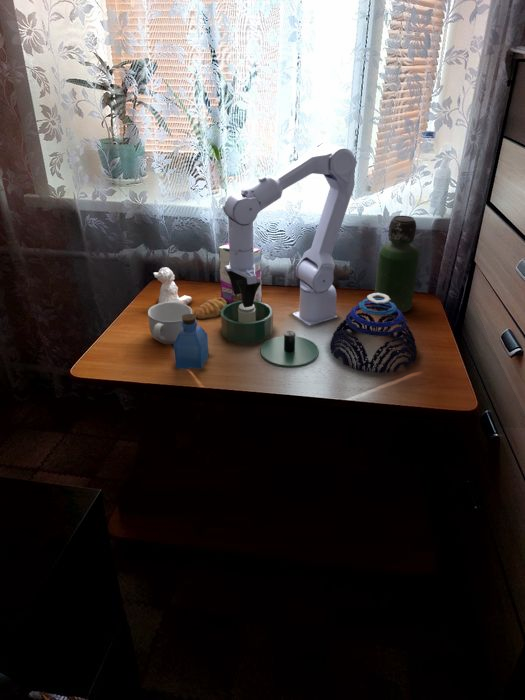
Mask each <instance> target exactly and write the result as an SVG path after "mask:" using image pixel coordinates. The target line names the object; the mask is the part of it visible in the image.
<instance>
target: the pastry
mask: <svg viewBox="0 0 525 700" xmlns="http://www.w3.org/2000/svg"><path fill="white" fill-rule="evenodd" d="M226 305H228V302H226V301H225V300H224V299H223V298H221V297H219V296H217V297H216V298H213V299H207V300H205V301H204V302H203V303H202V304H200V305H199V306H198V307H197V308H195V309H194V311H193V312H194V313H193V314H194V315H195V316H196V319H200V320H203V319H210V318H212V319H213V318H217V317H219V316H220V317H221V310H222V309H223V307H224V306H226Z"/></svg>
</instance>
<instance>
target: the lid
mask: <svg viewBox="0 0 525 700" xmlns="http://www.w3.org/2000/svg"><path fill="white" fill-rule="evenodd" d="M260 355H261V357H262V358H263V359H264V360H265V361H266V362H267V363H270V364H271V365H274V366H278V367H283V368H297V367H303V366H306V365H310V364H311V363H313V362H314V361H316V360H317V358H318V356H319V347H318V346H317V345H316V344H315V342H313V341H312V340H310V339H308V338H305V337H302V336H297V335H296V332H295V331H294V330H286V331H284V333H283V335H280V336H276V337H275V336H274V337H272V338H270V339H268V340H266V341H265V342H264V343H263V344H262V345H261V347H260Z"/></svg>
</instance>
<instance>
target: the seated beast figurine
mask: <svg viewBox="0 0 525 700" xmlns="http://www.w3.org/2000/svg"><path fill="white" fill-rule="evenodd" d="M153 275H154V278H156V279H157V281H158V282H160V283H161V286H160V289H159V298H158V303H157V304H159V303H164V302H177V303H182V304H185V305H187V306H188V305H190V304H191V303H192V301H193V298H192V297H191V296H189V295H186V294H184V295H182V296H180V297H179V294H178V293H179V292H178V290H179V287H178V286H177V284H176V283H175V281H174V280H175V279H176V278H175V277H176V275H175V274H174V272H173V271H172V269H170V268H169V267H165V266H164V267H161V268H160V269H159V270H158V272H156V271H155V272H153Z"/></svg>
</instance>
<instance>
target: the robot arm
mask: <svg viewBox="0 0 525 700" xmlns="http://www.w3.org/2000/svg"><path fill="white" fill-rule="evenodd" d="M357 164H358V161H357V158H356V157H355V155H354V153H353V151H352V150H351V149H349V148H346V147H342V146H338V145H335V144H332V143H331V142H328V141H322V142H319V143H317V144H316V145H315V146H312V147H310V148H309V149H308V150H307V152H306V153H305V154H304V155H303V156H301V157H300V158H298V159H297V160H296V161H294V162H293V163H291V164H290V165H289V166H288V167H286V168H285V169H283V170H282V171H281V172H279V173H278V174H277V175H276V176H271V175H266V176H264V175H262V176H260V177H259V178H258V181H256V182H255V183H254V184H252V185H250V186H249V187H247V188H243V189H241V192H240V193H232V194H231V195H229V196H228V197H227V199H226V201H225V202H224V206H222V210H223V213H224V214H225V215H226V216H227V223H228V224H227V225H228V227H227V228H228V243H229V253H230V255H229V265H227V266H225V270H226V272H227V274H228V276H229V278H230V281H231V285H232V289H233V292H234V294H235V295H237V294H241V296H242V302H243V306H244V307H251V306H253V302H254V298H255V294H256V291H257V289H258V287H259V286H260V284H261V280H260V279H259V278H258V279H256V275H255V264H254V248H255V247H254V221H255V220H256V219H257V217H258V214H260V213H261V211H263V210H264V209H266V208H267V207H269V206H271V205H272V204H273V203H275V202H277V201H279V200H280V199H281V197H282V195H283V191H284V190H286V189H287V188H289V187H291V186H293V185H294V184H296V183H298V182H299V181H301V180H303V179H305V178H307V177H309V176H310V175H312V174H316V175H323V177H324V178H325V180H326V182H327V183H328V185H329V190H328V193H327V196H326V199H325V203H324V206H323V209H322V212H321V215H320V219H319V222H318V224H317V228H316V230H315V234H314V238H313V240H312V244H311V247H310V248H309V249H307V250H306V251H304V252H303V254H302V256H301V258H300V260H299V262H298V263H297V265H296V267H295V275H296V277H297V278H298V279H299V306H298V311H296V312H293V313H292V315H294V317H296V318H297V319H298V320H301V321H302V322H303V323H304V324H305V325H308V326H312V325H315V324H319V323H322V322H325V321H328V320H331V319H335V318H338V315H336V313H337V299H338V296H337V290H336V288H335V285H333V283H334V279H335V276H334V271H335V269H336V268H335V267H336V265H335V261H334V258H333V255H332V254H333V252H334V248H335V245H336V243H337V239H338V237H339V234H340V231H341V228H342V225H343V222H344V219H345V216H346V212H347V210H348V207H349V204H350V200H351V197H352V195H353V191H354V188H355V181H356V180H355V170H356V167H357Z"/></svg>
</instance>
